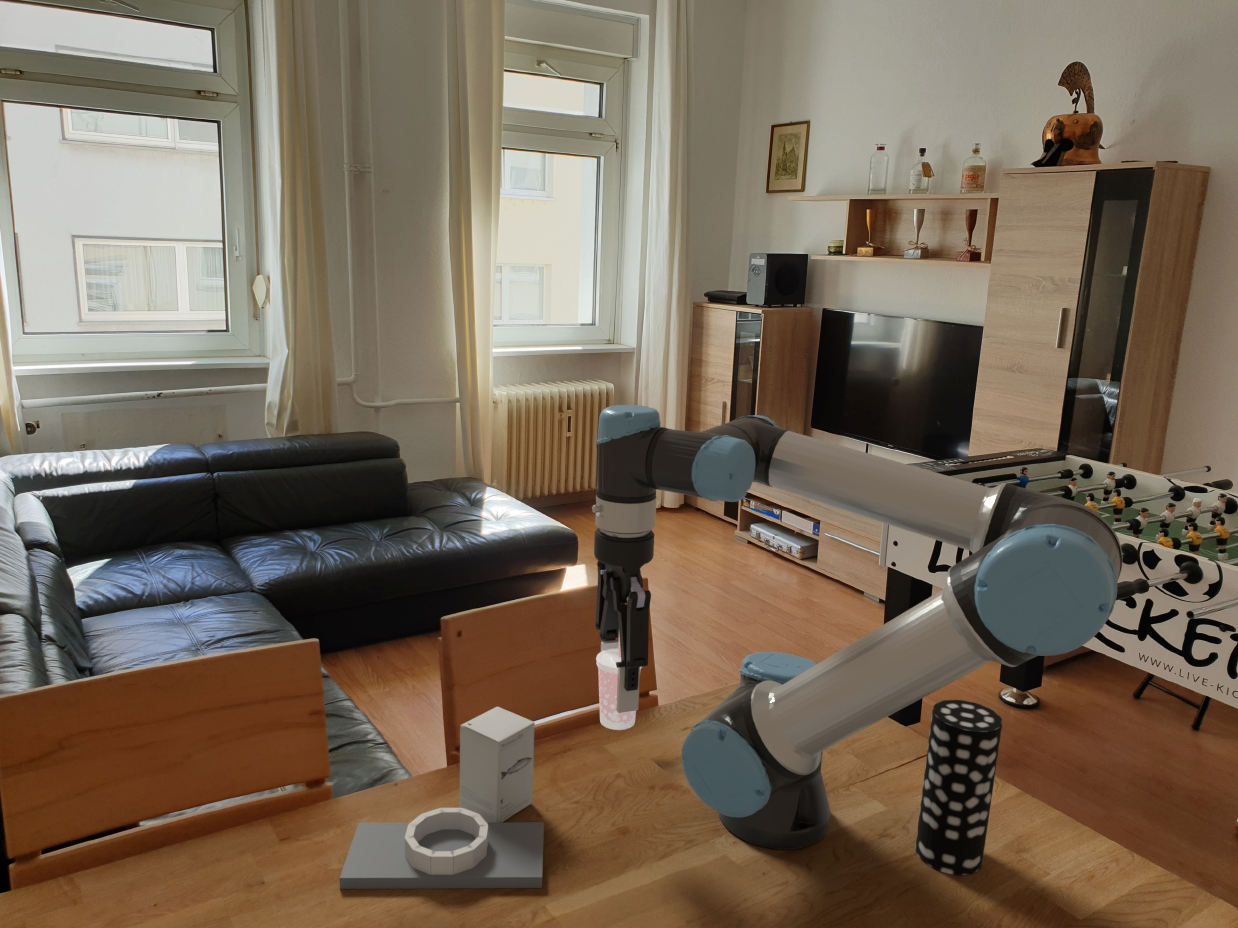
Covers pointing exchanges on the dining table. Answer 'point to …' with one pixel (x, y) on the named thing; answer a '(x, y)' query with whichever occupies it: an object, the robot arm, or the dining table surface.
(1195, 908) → the dining table surface
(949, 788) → the spotted tube
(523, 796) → the supplement box
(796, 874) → the dining table surface
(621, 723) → the beverage cup
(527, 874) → the collar board
